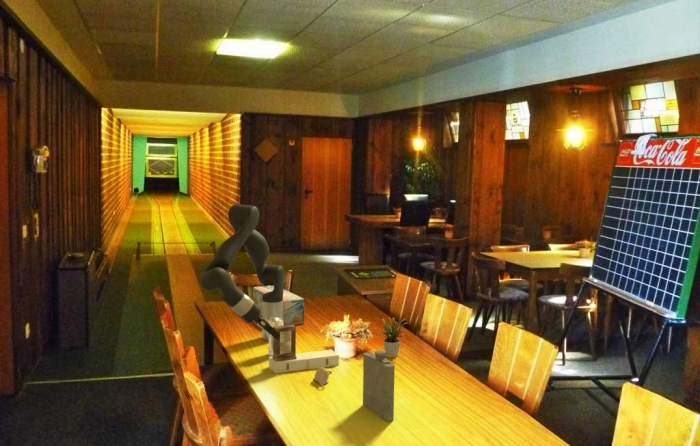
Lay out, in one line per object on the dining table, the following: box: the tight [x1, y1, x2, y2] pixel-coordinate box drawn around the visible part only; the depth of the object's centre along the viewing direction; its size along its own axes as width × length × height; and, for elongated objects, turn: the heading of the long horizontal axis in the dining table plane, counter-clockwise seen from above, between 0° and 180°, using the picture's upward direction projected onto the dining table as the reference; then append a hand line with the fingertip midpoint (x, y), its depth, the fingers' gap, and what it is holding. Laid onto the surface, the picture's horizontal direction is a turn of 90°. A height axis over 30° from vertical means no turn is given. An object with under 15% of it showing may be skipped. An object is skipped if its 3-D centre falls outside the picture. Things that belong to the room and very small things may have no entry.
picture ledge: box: [268, 349, 340, 374], centre depth 247 cm, size 26×8×4 cm, turn 114°
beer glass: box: [267, 317, 284, 357], centre depth 261 cm, size 7×7×15 cm
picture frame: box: [273, 325, 297, 361], centre depth 243 cm, size 8×5×12 cm, turn 114°
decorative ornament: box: [312, 367, 333, 386], centre depth 229 cm, size 4×8×5 cm, turn 30°
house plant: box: [378, 316, 408, 358], centre depth 262 cm, size 14×14×16 cm
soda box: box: [252, 285, 305, 326], centre depth 325 cm, size 41×14×13 cm, turn 27°
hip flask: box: [362, 349, 396, 423], centre depth 202 cm, size 16×4×20 cm, turn 29°
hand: (275, 334), depth 241 cm, fingers open, 8 cm apart
